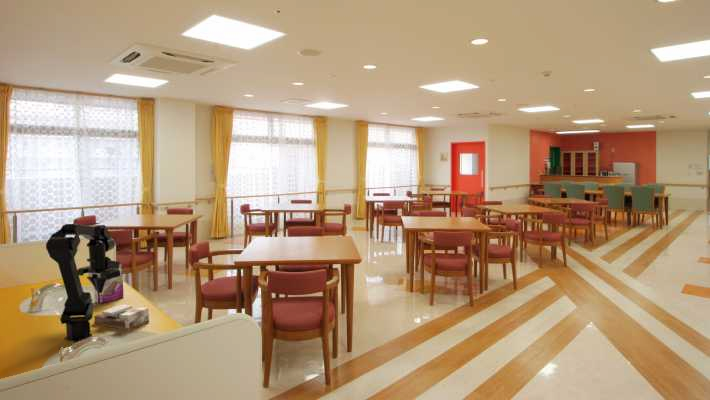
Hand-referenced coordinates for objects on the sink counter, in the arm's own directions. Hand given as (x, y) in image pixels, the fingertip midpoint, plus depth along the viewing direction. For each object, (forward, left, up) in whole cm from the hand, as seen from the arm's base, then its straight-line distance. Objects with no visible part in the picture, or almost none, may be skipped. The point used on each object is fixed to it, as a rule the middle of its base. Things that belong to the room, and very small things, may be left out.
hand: (100, 292), depth 172 cm
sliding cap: (0, -10, -10) cm, 14 cm away
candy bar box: (+18, +20, -11) cm, 29 cm away
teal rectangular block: (0, -16, -10) cm, 19 cm away
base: (0, -12, -11) cm, 16 cm away
